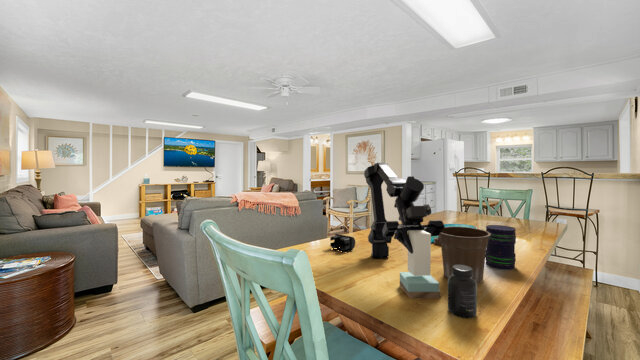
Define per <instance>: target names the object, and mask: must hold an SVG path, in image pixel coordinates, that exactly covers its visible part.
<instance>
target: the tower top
mask: <svg viewBox="0 0 640 360" xmlns="http://www.w3.org/2000/svg"><path fill="white" fill-rule="evenodd" d="M400 281H401V282H402V284H403V285H404V286H405V288H406V289H407V291H408V292H439V290H440V282H439V281H438V280H436V278H435V277H434V276H432V274H430V275H428V276H414V275H413V274H412V273H410V272H409V271H399V282H400Z"/></svg>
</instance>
